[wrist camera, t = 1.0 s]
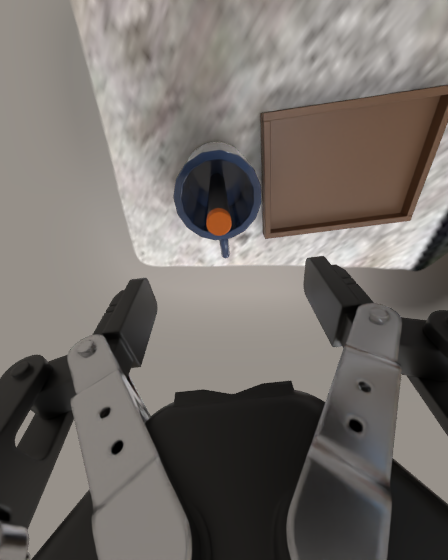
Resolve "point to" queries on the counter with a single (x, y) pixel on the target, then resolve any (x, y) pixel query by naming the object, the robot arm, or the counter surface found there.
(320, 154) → the tray
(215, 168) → the mug
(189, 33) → the counter surface
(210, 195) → the marker
